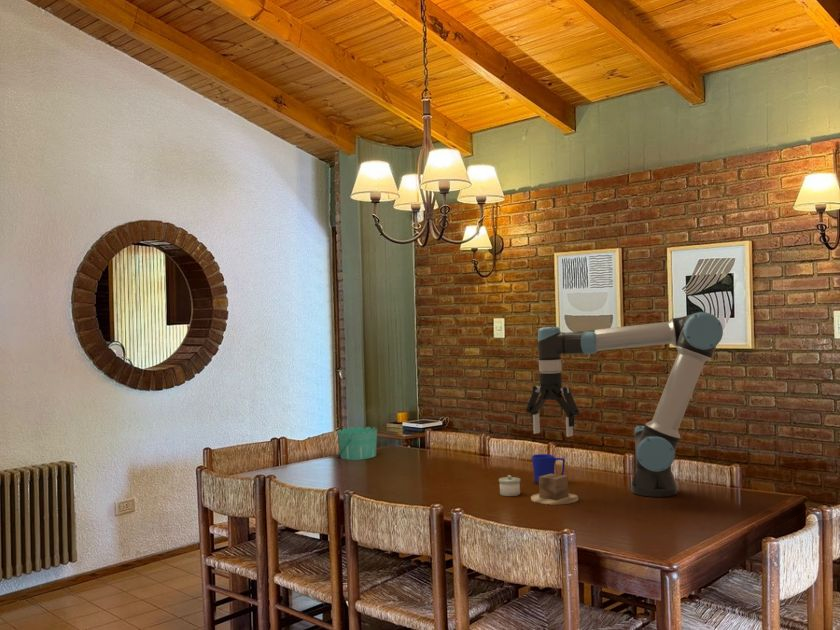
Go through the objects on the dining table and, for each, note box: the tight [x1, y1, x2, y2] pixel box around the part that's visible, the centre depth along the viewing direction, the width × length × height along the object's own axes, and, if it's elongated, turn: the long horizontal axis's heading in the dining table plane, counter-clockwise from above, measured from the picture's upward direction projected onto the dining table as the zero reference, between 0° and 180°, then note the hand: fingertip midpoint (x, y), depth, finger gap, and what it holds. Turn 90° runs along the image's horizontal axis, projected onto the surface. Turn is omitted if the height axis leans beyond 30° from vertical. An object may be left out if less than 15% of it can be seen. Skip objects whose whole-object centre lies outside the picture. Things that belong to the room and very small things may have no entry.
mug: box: [531, 453, 566, 484], centre depth 279 cm, size 8×12×10 cm
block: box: [538, 473, 569, 500], centre depth 253 cm, size 7×7×7 cm
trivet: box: [530, 492, 580, 506], centre depth 253 cm, size 16×16×1 cm
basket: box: [336, 426, 378, 461], centre depth 350 cm, size 19×18×13 cm
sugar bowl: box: [498, 474, 521, 497], centre depth 263 cm, size 8×8×7 cm
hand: (552, 434), depth 254 cm, fingers open, 13 cm apart
